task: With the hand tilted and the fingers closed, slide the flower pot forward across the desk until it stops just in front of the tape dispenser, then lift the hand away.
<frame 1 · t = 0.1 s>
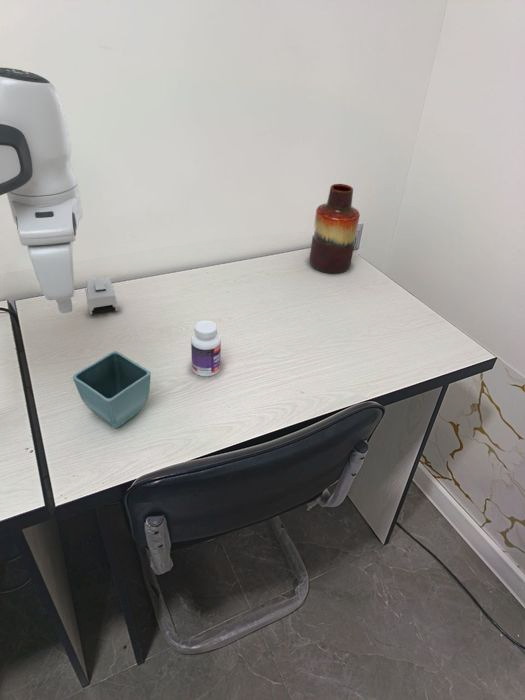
hand: (65, 293, 75), 20 cm above the table, tool pointing down, fingers open, 8 cm apart
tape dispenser: (103, 311, 107), on the table
pill bottle: (206, 368, 94), on the table
flower pot: (118, 414, 84), on the table
vase: (329, 264, 130), on the table
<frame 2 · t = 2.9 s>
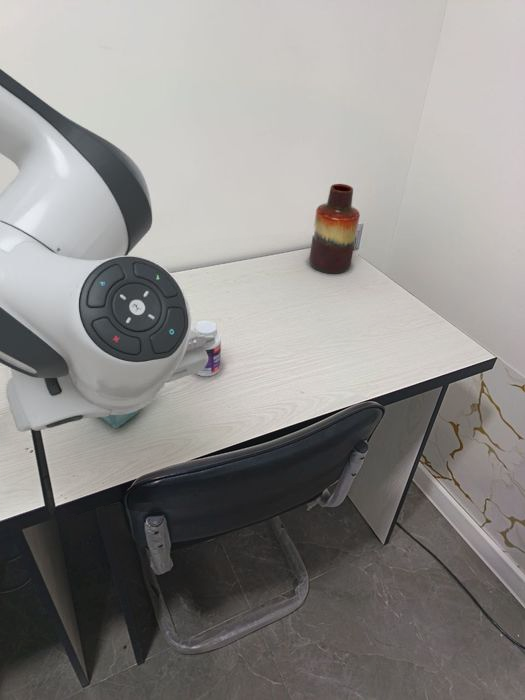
hand: (110, 392, 58), 21 cm above the table, tool tilted 40°, fingers open, 8 cm apart
nothing on the table moved.
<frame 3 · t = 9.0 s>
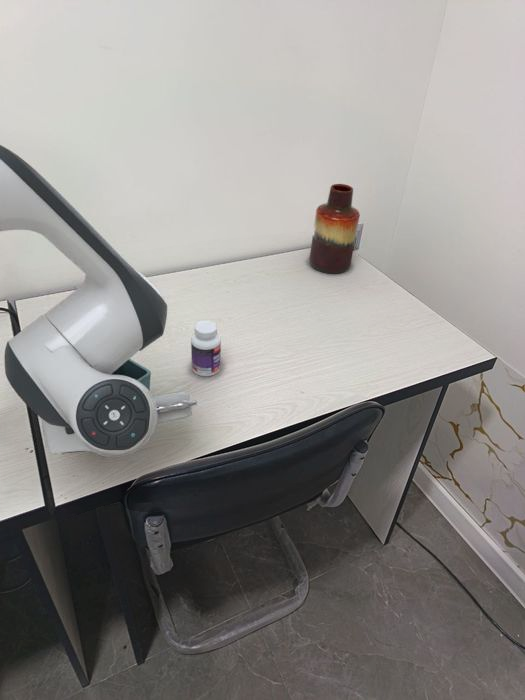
hand: (121, 417, 76), 5 cm above the table, tool tilted 45°, fingers closed
flower pot: (119, 414, 84), on the table, touching gripper
everything else where it was.
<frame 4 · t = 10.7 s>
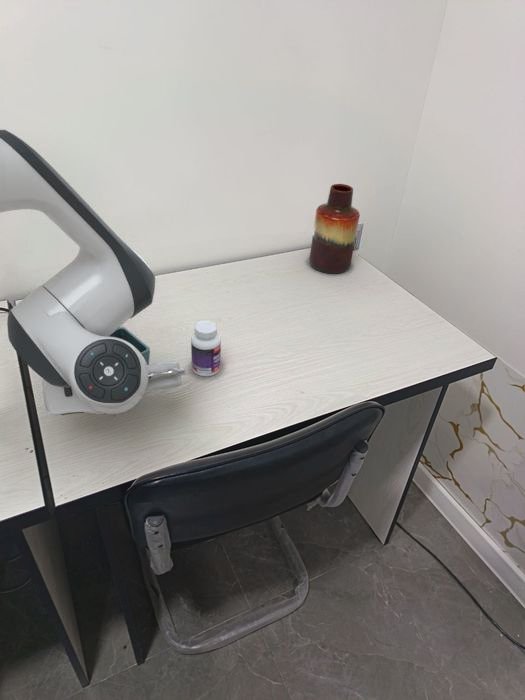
hand: (116, 387, 81), 5 cm above the table, tool tilted 45°, fingers closed
flower pot: (120, 386, 89), on the table, touching gripper
everything else where it was.
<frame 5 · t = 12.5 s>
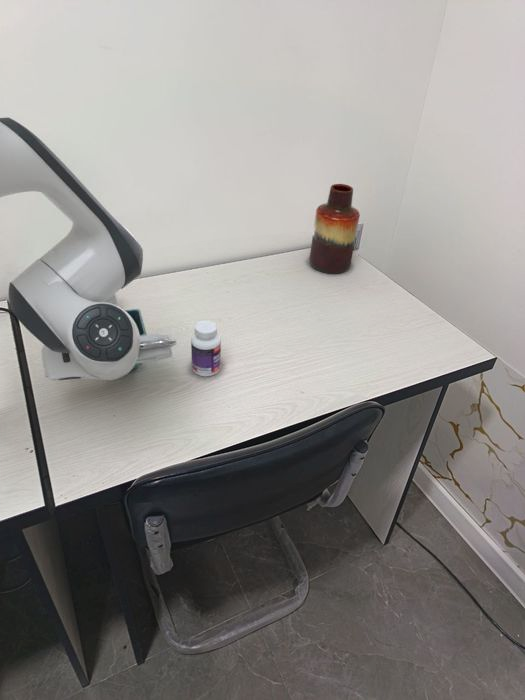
hand: (111, 360, 87), 5 cm above the table, tool tilted 45°, fingers closed, pressing on flower pot
flower pot: (123, 363, 94), on the table, touching gripper
everything else where it was.
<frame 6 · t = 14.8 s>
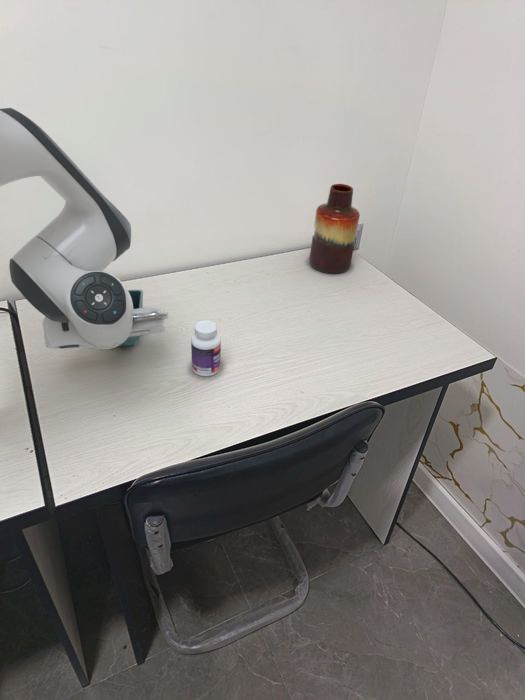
hand: (107, 334, 92), 5 cm above the table, tool tilted 45°, fingers closed
flower pot: (123, 340, 100), on the table, touching gripper
everything else where it was.
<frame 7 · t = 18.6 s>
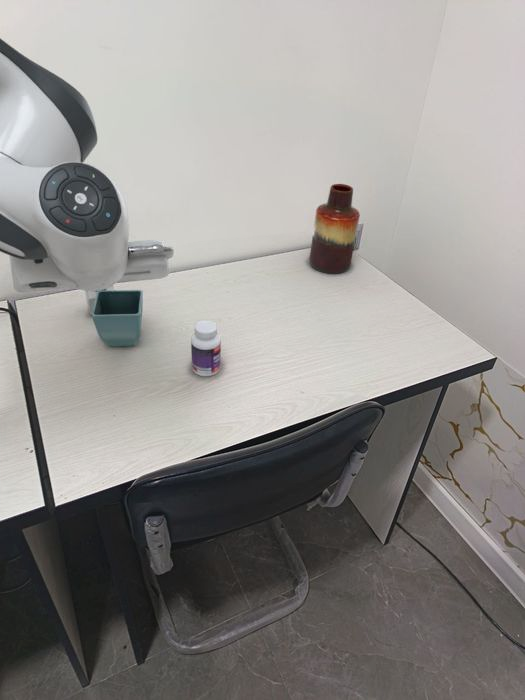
hand: (96, 282, 73), 23 cm above the table, tool tilted 45°, fingers closed
flower pot: (123, 340, 100), on the table
everything else where it was.
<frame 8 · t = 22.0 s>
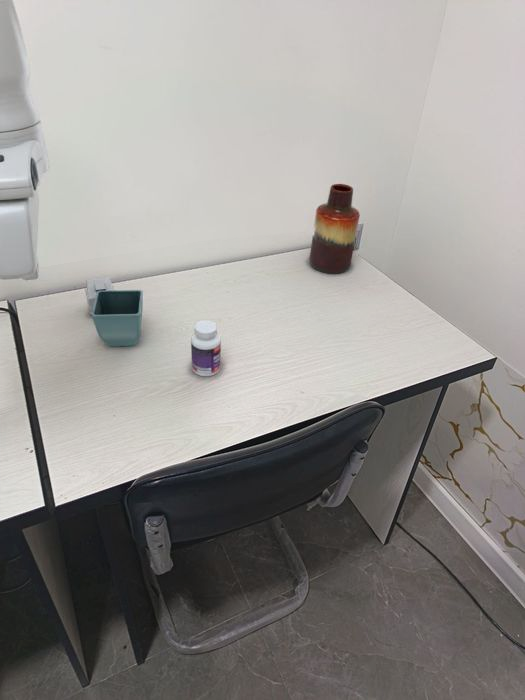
hand: (31, 273, 58), 31 cm above the table, tool pointing down, fingers closed
nothing on the table moved.
at the end: flower pot inside the target area on the table beside the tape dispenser (3.0 cm from its centre), on the table; flower pot tilted 0°; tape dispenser moved 0.2 cm from its start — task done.
